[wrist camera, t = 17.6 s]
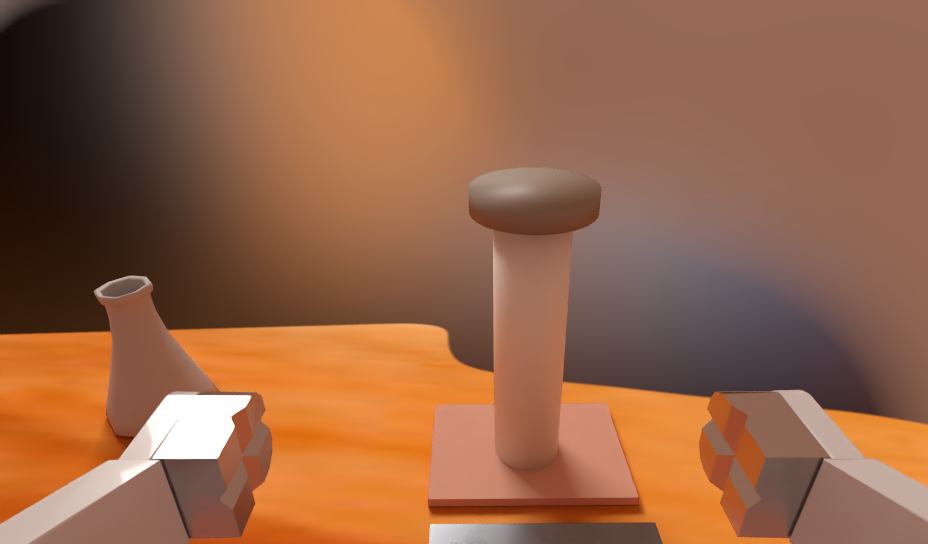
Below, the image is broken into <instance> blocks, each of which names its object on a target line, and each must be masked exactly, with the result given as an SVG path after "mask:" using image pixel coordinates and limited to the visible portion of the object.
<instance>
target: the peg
mask: <svg viewBox="0 0 928 544" xmlns="http://www.w3.org/2000/svg"><path fill="white" fill-rule="evenodd" d="M468 193H469V194H468V196H469V214H470V216H471V218H472V219H473V220H475V221H476V222H477V223H479V224H481V225H482V226H485V227H487V228H490V229H493V283H494V284H493V290H494V443H495V451H496V454H497V456H498V457H499V459H500V460H501V461H502V462H504V463H505V464H506V465H508V466H510V467H512V468H515V469H518V470H523V471H534V470H539V469H542V468H544V467H546V466H548V465H549V464H551V463H552V462H553V461H554V459H555V458H556V455H557V452H558V438H559V424H560V409H561V394H562V380H563V365H564V350H565V336H566V321H567V306H568V291H569V277H570V262H571V247H572V233H573V231H575V230H578V229H581V228H584V227H586V226H588V225H590V224H592V223H593V222H594V221H595V220H596V219H597V218H598V216H599V210H600V199H601V186H600V184H599V183H598V182H597V181H595V180H594V179H592V178H590V177H588V176H586V175H583V174H580V173H576V172H572V171H567V170H561V169H552V168H514V169H506V170H500V171H495V172H491V173H487V174H485V175H482V176H480V177H478V178H476V179H474V180H473V181H472V182H471V183H470V184H469V187H468Z"/></svg>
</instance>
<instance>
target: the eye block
mask: <svg viewBox="0 0 928 544" xmlns="http://www.w3.org/2000/svg"><path fill="white" fill-rule="evenodd" d="M429 544H663V543H662V540H661V538H660V535H659V532H658V529H657V527H656V524H655V523H531V524H430V536H429Z"/></svg>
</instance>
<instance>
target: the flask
mask: <svg viewBox="0 0 928 544" xmlns="http://www.w3.org/2000/svg"><path fill="white" fill-rule="evenodd" d="M152 290H153V286H152V283H151V282H150V281H149V280H148V279H147V277H140V276H127V277H124V278H121V279H118V280H114V281H111V282H108V283H106V284H105V285H103V286H101V287H100V288H98V289H96V290H95V291H94V294H95V295H96V297H97V299H98V300H99V302H100V303H101V304H102V305H105V307H106V310H107V313H108V316H109V321H110V328H111V335H112V353H111V369H110V380H109V388H108V397H107V407H106V415H107V417H108V420H109V422H110V424H111V426H112V428H113V430H114V432H115V435H120V436H128V437H136V435H137V434H138V433H139V431H140V430H141V429H142V427H143V426H144V425H145V423H146V422H147V421H148V419H149V418H150V417H151V415H152V414H153V413H154V412H155V410H156V409H157V408H158V406H159V405H160V404H161V402H162V401H163V400H164V398H165V397H166V396H167V395H169V394H171V393H173V392H175V391H181V392H202V391H205V392H220V391H219V390H218V389H217V388H216V386H215V385H214V384H213V383H212V381H211V380H210V379H209V378H208V376H207V375H206V374H205V373H204V372H203V370H202V369H201V368H200V367H199V366H198V365H197V364H196V363H195V362H194V360H193V359H192V358H191V357H190V356H189V355H188V354H187V353H186V352H185V351H184V350H183V348H182V347H181V346H180V345H179V344H178V342H177V341H176V340H175V339H174V338H173V337H172V335H171V334H170V333H169V332H168V331H167V329H166V327H165V326H164V324H163V322H162V320H161V319H160V317H159V315H158V314H157V312H156V310H155V308H154V305H153V302H152V299H151V295H150V292H151V291H152Z"/></svg>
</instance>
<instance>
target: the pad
mask: <svg viewBox="0 0 928 544" xmlns="http://www.w3.org/2000/svg"><path fill="white" fill-rule="evenodd" d="M638 499H639V497H638V494H637V491H636V488H635V485H634V482H633V479H632V476H631V473H630V471H629V468H628V465H627V462H626V459H625V456H624V453H623V450H622V447H621V444H620V441H619V439H618V436H617V433H616V430H615V427H614V424H613V421H612V418H611V415H610V412H609V410H608V407H607V404H606V403H561V409H560V424H559V438H558V452H557V455H556V458H555V459H554V461H553V462H552V463H551V464H549V465H548V466H546V467H544V468H542V469H539V470H534V471H523V470H518V469H515V468H512V467H510V466H508V465H506V464H505V463H504V462H502V461H501V460H500V459H499V457H498V456H497V454H496V451H495V443H494V404H477V405H436V408H435V420H434V431H433V443H432V455H431V467H430V479H429V491H428V507H434V506H553V505H637V504H638Z"/></svg>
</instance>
